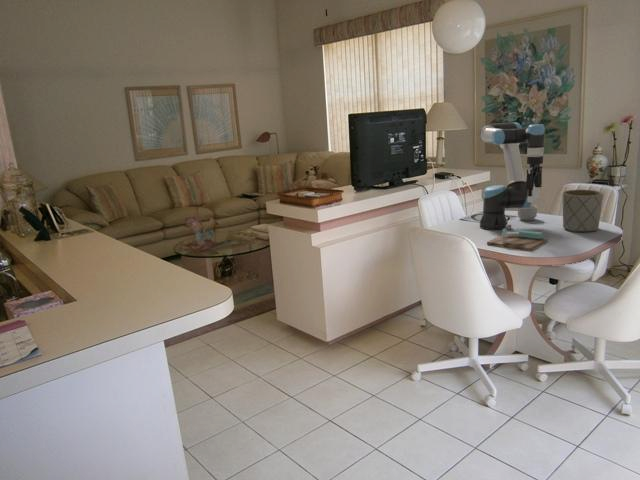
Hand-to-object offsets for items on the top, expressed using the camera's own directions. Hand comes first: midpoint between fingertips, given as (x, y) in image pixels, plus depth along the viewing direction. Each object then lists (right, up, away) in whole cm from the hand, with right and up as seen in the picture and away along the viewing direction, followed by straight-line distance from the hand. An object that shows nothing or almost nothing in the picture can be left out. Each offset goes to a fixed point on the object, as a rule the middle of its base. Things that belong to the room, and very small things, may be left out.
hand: (533, 201), depth 256 cm
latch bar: (-6, -18, 0) cm, 19 cm away
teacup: (+14, -8, +42) cm, 45 cm away
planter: (+31, -14, +13) cm, 36 cm away
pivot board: (-10, -22, -5) cm, 24 cm away
